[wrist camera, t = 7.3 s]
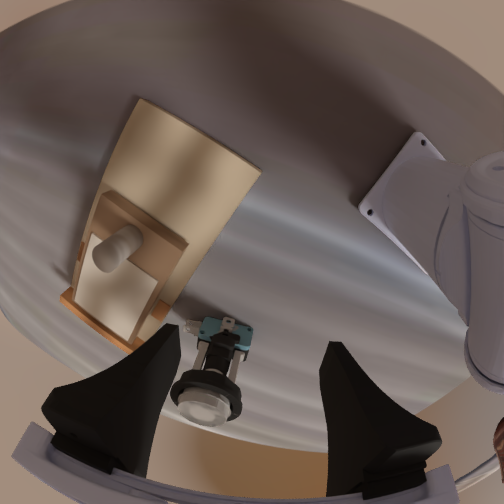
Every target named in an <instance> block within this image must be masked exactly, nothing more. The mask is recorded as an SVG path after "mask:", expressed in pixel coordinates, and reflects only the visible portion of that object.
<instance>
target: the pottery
mask: <svg viewBox="0 0 504 504" xmlns="http://www.w3.org/2000/svg"><path fill="white" fill-rule="evenodd" d="M493 445H494V449H495V452H496V454H497V457H498V460H499V464H500V469H501V475H502V483H504V417H503V418H502V419H501V421H500V422H499V424H498V426H497V428H496V431H495V434H494V439H493Z"/></svg>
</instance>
